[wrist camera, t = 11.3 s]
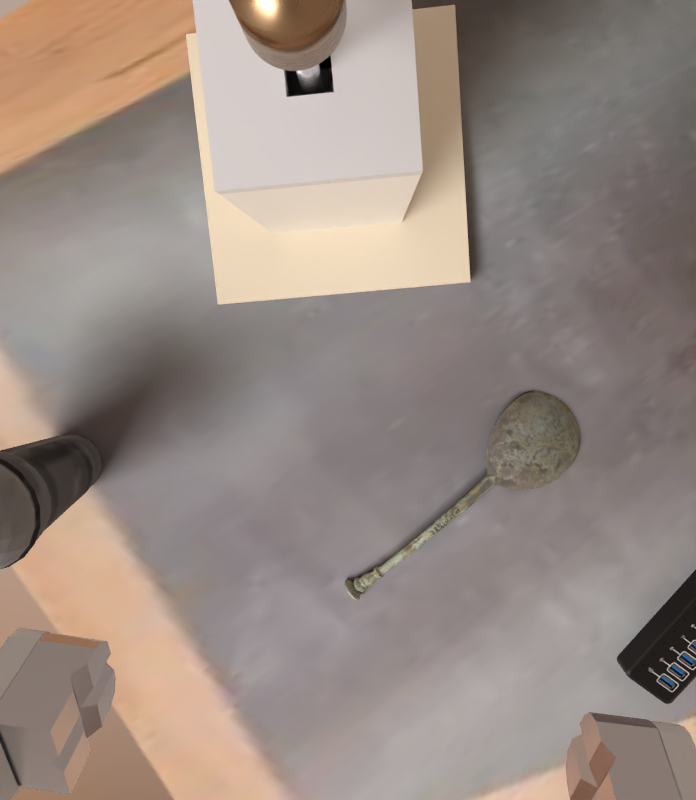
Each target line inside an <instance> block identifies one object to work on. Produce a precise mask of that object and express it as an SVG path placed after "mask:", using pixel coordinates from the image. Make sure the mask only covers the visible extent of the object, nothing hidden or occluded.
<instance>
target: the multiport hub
mask: <svg viewBox="0 0 696 800" xmlns="http://www.w3.org/2000/svg"><path fill="white" fill-rule="evenodd" d="M617 661H618V663H619V664H620V666H621V667H622V669H623V670H624V672H625V673H626V674H627V676H628V677H629V678H631V679H632V680H633V681H635V682H636V683H637V684H639V685H640V686H642V687H643V688H644V689H646V690H647V691H648V692H650V693H651V694H653V695H654V696H655V697H657V698H658V699H660V700H661V701H662V702H664V703H666V704H669V703H671V702H673V701H674V700H675V698H676V697H677V696H678V695H679V694H680V693H681V692H682V691H683V690H684V689H685V688H686V687H687V686H688V685H689V684H690V682H691V681H692V680H693V679H694V678H695V677H696V570H695V571H694V572H693V573H692V574H691V576H690V577H689V578H688V579H687V580H686V581H685V582H684V583H683V584H682V586H681V587H680V588H679V589H678V590H677V591H676V592H675V593H674V594H673V596H672V597H671V598H670V599H669V600H668V601H667V602H666V603H665V604H664V605H663V607H662V608H661V609H660V610H659V611H658V612H657V613H656V614H655V615H654V617H653V618H652V619H651V620H650V621H649V622H648V623H647V624H646V625H645V627H644V628H643V629H642V630H641V631H640V632H639V633H638V634H637V635H636V637H635V638H634V639H633V640H632V641H631V642H630V643H629V644H628V645H627V647H626V648H625V649H624V650H623V651H622V652H621V653H620V654H619V655H618V657H617Z"/></svg>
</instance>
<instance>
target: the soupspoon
mask: <svg viewBox="0 0 696 800" xmlns="http://www.w3.org/2000/svg"><path fill="white" fill-rule="evenodd" d="M579 440H580V432H579V428H578V425H577V422H576V420H575V418H574V416H573V414H572V413H571V411H570V410H569V409H568V408H567V406H565V405H564V404H563V403H562V402H561V401H560V400H558V399H557V398H555V397H553V396H551V395H549V394H547V393H544V392H540V391H531V392H528V393H526V394H524V395H522V396H520V397H519V398H517V399H516V400H515V401H514V402H512V403H511V404H510V405H509V406H508V407H507V408H506V409H505V410H504V412H503V413H502V414H501V415H500V417H499V419H498V421H497V422H496V424H495V426H494V428H493V430H492V433H491V436H490V439H489V442H488V447H487V454H486V468H487V475H486V476H485V477H484V478H483V479H482V480H481V481H480V482H479V483H478V484H477V485H476V486H475V487H474V488H473V489H471V490H470V491H469V492H468V493H467V494H466V495H465V496H464V497H463V498H462V499H461V500H459V501H458V502H457V503H456V504H455V505H454V506H453V507H451V508H450V509H449V510H448V511H447V512H446V513H444V514H443V515H442V516H441V517H440V518H438V519H437V520H436V521H435V522H434V523H433V524H431V525H430V526H429V527H428V528H427V529H426V530H425V531H424V532H422V533H421V534H420V535H419V536H418V537H416V538H415V539H414V540H413V541H412V542H410V543H409V544H408V545H407V546H405V547H404V548H403V549H402V550H400V551H399V552H398V553H397V554H395V555H394V556H393V557H392V558H390V559H389V560H388V561H387V562H386V563H384V564H383V565H382V566H380V567H375V568H374V571H373V572H368V573H365V574H364V575H363V576H361V578H355V579H354V582H352V581H351V580H348V579H347V580H345V588H346V590H347V592H348V593H349V595H350V596H351V597H352V598H353V599H355V600H359V599H360V592H363V591H365V589H366V587H369V586H370V585H371V584H373V583H374V582H375V581H376V579H377V578H382V577H383V576H384V573H386V572H387V571H389V570H390V569H391V568H393V567H394V566H396V565H397V564H398V563H400V562H401V561H402V560H404V559H405V558H407V557H408V556H409V555H410V554H412V553H413V552H414V551H415V550H417V549H418V548H419V547H421V546H422V545H423V544H424V543H425V542H427V541H428V540H429V539H430V538H432V537H433V536H434V535H435V534H436V533H438V532H439V531H440V530H441V529H442V528H444V527H445V526H446V525H447V524H448V523H450V522H451V521H452V520H454V519H455V518H456V517H457V516H459V515H460V514H461V513H462V512H463V511H465V510H466V509H467V508H468V507H470V506H471V505H472V504H473V503H475V502H476V501H477V500H478V499H479V498H480V497H481V496H483V495H484V494H485V493H486V492H487V491H488V490H490V489H491V488H492V487H493V486H494V485H500V486H503V487H507V488H511V489H521V490H523V489H533V488H538V487H542V486H544V485H547V484H549V483H551V482H553V481H554V480H556V479H557V478H559V477H560V476H561V475H562V474H563V473H564V472H565V471H566V470H567V469H568V467H569V466H570V465H571V463H572V462H573V460H574V459H575V457H576V454H577V451H578V447H579Z"/></svg>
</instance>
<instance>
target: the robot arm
mask: <svg viewBox="0 0 696 800" xmlns="http://www.w3.org/2000/svg"><path fill="white" fill-rule="evenodd" d="M110 654H111V653H110V649H109V646H108V642H107V641H101V640H95V639H88V638H81V637H75V636H68V635H62V634H55V633H50V632H45V631H38V630H31V629H24V628H19V629H18V630H16V631H15V632H14V633H13V634H12V635H11V636H9V637H8V639H7V640H6V642H5V643H4V645H3V646H2V647H1V649H0V800H10V799H12V798H13V797H14V796H15V795H16V794H17V793H18V792H19V787H20V788H27V789H35V790H43V791H50V792H58V793H65V794H71V792H72V790H73V787H74V785H75V783H76V781H77V779H78V777H79V775H80V773H81V771H82V768H83V766H84V764H85V762H86V760H87V758H88V756H89V753H90V751H89V745H88V740H87V738H88V737H89V736H90V735H92V734H93V733H94V732H95V731H97V730H98V729H99V728H101V727H102V726H103V723H104V721H105V719H106V717H107V715H108V712H109V710H110V707H111V703H112V700H113V696H114V692H115V673H114V669H113V668H112V667H110V666H109V665H108V664H107V663H106V662H107V660H108V658H109V656H110ZM580 726H581V731H582V734H581V735H579V736H577V737H575V738H573V739H572V741H571V744H570V746H569V749H568V752H567V762H566V775H567V785H568V791H569V796H570V800H696V748H695V745H694V743H693V740H692V737H691V735H690V733H689V732H688V731H687V730H686V728H685V727H683V726H680V725H677V724H669V723H662V722H654V721H649V720H646V719H638V718H630V717H622V716H614V715H607V714H599V713H591V712H589V713H587V714H585V715H584V717H583V719H582V720H581V722H580Z"/></svg>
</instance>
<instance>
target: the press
mask: <svg viewBox="0 0 696 800" xmlns="http://www.w3.org/2000/svg"><path fill="white" fill-rule="evenodd" d="M193 8H194V16H195V25H196V33H193V34H186V38H187V47H188V55H189V64H190V72H191V81H192V89H193V97H194V106H195V114H196V123H197V131H198V140H199V148H200V157H201V165H202V174H203V182H204V191H205V199H206V207H207V216H208V224H209V233H210V241H211V250H212V258H213V267H214V275H215V284H216V292H217V301H218V305H222V304H234V303H245V302H256V301H267V300H279V299H290V298H301V297H312V296H324V295H335V294H346V293H357V292H369V291H380V290H391V289H402V288H414V287H425V286H436V285H447V284H458V283H469V282H470V266H469V248H468V230H467V211H466V193H465V175H464V157H463V139H462V121H461V103H460V85H459V67H458V49H457V31H456V13H455V5H448V6H439V7H430V8H421V9H412V0H346V8H347V18H346V25H345V30H344V33H343V36H342V38H341V40H340V42H339V44H338V46H337V47H336V49H335V50H334V51H333V52H332V54H331V55H330V56H329V57H328V58H326V59H325V60H324V61H323V62H321V63H320V64H319V66H320V69H323V68H332V77H333V89H334V92H329V93H320V94H310V95H301V96H291V97H288V87H287V77H286V72H295V71H288V70H282V69H278V68H276V67H274V66H271V65H270V64H268V63H266V62H265V61H264V60H262V59H261V58H260V57H259V56H258V55H257V54H256V53H255V52H254V51H253V49H252V48H251V46H250V45H249V43H248V41H247V39H246V37H245V35H244V33H243V30H242V28H241V26H240V24H239V22H238V20H237V17H236V15H235V13H234V11H233V9H232V6H231V4H230V2H229V0H193Z"/></svg>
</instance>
